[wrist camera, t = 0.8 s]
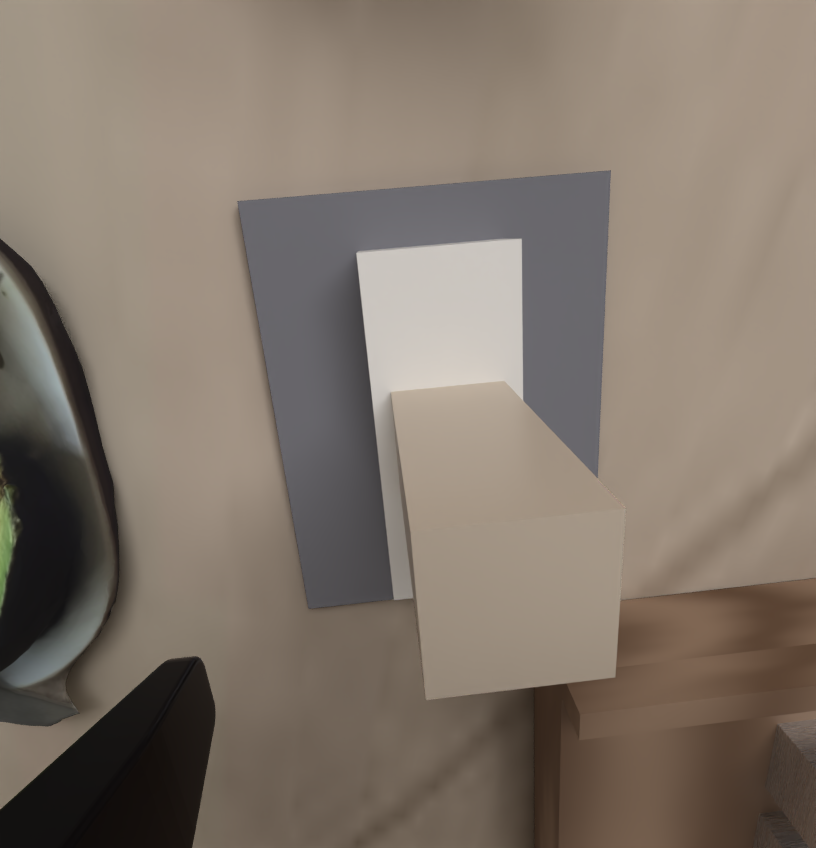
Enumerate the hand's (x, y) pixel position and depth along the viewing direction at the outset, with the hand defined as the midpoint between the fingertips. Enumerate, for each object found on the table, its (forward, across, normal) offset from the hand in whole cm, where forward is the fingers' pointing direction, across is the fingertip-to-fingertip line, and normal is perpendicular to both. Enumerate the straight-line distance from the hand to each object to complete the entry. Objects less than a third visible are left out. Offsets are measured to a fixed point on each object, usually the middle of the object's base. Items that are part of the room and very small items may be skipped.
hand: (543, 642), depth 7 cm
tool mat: (+10, 0, 0) cm, 10 cm away
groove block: (+10, -9, +15) cm, 20 cm away
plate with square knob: (+10, 0, 0) cm, 10 cm away
